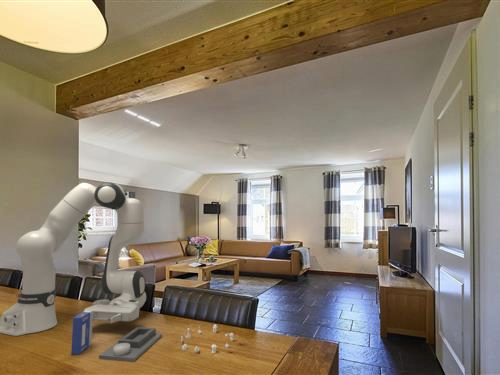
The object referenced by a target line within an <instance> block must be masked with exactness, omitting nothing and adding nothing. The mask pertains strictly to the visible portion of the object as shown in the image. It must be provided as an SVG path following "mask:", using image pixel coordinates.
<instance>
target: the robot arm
mask: <svg viewBox="0 0 500 375" xmlns="http://www.w3.org/2000/svg"><path fill="white" fill-rule="evenodd" d="M96 205H99V206H101V207H102V208H107V209H110V210H114V211H115V212H116V215H117V216H116V217H117V223H116V224H117V226H116V230H115V232H114V234H113V235H112V236H111V237H110V239H109V241H108V246H107V251H106V252H107V253H106V258H105V263H104V269H103V274H102V276H101V279H100V288H101V289H102V291H103V292H104V293H105V294H106V295H117V294H119V295H120V296H117V297H115V298H113V299H112V300H110V303H109V305H101V304H99V305H94V306H93V305H91V306H88V307H86V308H84V309H83V312H84V311H86V310H89V311H93V318H92V320H99V321H100V320H101V321H103V320H104V321H107V322H108V323H109V324H113V323H115V322H132V321H134V320H136V319H139V315H140V309H141V308H142V307H143V306H144V304H145V302H146V301H147V293H146V286H147V284H146V283H147V282H146V278H145V277H144V276H145V275H143V273H142V272H141V271H139V270H119V269H118V266H119V260H120V254H121V251H122V250H123V248H125V247H127V246H128V245H131V244H134V243H136V242H137V241H139V240H140V239H141V238H142V236H143V235H144V229H145V228H144V227H145V223H144V222H145V221H144V220H145V217H144V210H143V209H144V208H143V204H142V202H141V200H139V199H137V198H134V197H127V196H126V192H125V189H124V188H123V187H122V186H121V185H119V184H118V183H115V182H110V181H109V182H106V181H105V182H103V183H101V184H99V185H98V186H95V185H92V184H90V183H89V182H88V183H87V182H81V183H79V184H78V185H76V186H75V187H73V188H72V189H71V190H70V191H69V192H68V193H67V194H66V195H65V196H63V198H62V199H61V200H60V201H59V202H58V203H57V204H56V205H55V206H54V208H53V209H52V210H51V211H50V212H49V214H48V217H47V218H46V219H45V221H44V223H43V225H42V226H41V227H40V228H38V229H37V230H32V231H28V232H27V233H25V234H24V235H22V236H21V237H20V238H19V239H18V240H17V242H16V244H15V245H16V246H15V249H16V252H17V254H18V255H19V257H20V262H21V269H22V288H21V293H19V294H15V296H14V297H15V298H16V299H17V301H16V302H15V303H14V304H13V305H12V306H10V307H8V308H7V309H6V310H5V311H3V313H2V314H1V317H0V334H5V335H9V336H13V337H18V336H23V335H26V334H27V335H28V334H33V333H38V332H43V331H46V330H49V329H52V328H53V327H55V326H57V325H58V320H57V316H56V306H55V305H56V304H55V301H56V298H57V297H56V296H57V295H56V294H57V289H56V272H57V271H56V268H55V265H54V259H53V258H54V257H53V254H54V253H56V252H57V251H59V249H61V247H62V245H63V244H64V243H65V241H66V240H67V239H68V238H69V236H70V235H71V233H72V231H73V230H74V228H75V227H76V226H77V225H78V224H79V223H80V222H81V221H82V219H83V218H84V217H85V216H86V215H87V214H88V212H89V211H90V210H91V209H92V208H93V207H95V206H96Z"/></svg>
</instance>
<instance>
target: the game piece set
mask: <svg viewBox="0 0 500 375" xmlns="http://www.w3.org/2000/svg"><path fill="white" fill-rule="evenodd" d="M217 330H218V325H217V324H214V325H213V326H212V331H213V333H214V334H216V333H217ZM190 331H191V329H190V328H189V327H188V328H187V333H185V334H184V335H181V336H180V339H181V340H180V341H181V344H182V343H183V342H184V336H185V338H187V339H188V338H191V337H192V334H190ZM197 333H198V334H202V331H201V329H200V326H198V330H197ZM234 335H235V334H234V333H233V332H228V333H225V334H224V336H225V337H228V336H229V337H230V338H229V339H230V341H231V342H233V341H234V338H235V336H234ZM181 348H182V349H181V350H182V351H187V350H188V345H187V343H183V345H182V346H181ZM225 348H226V349H229V348H230V344H228V343H226V344H225ZM211 349H212V350H211V354H216V353H217V351H216V349H217V345H216V344H213V343H212V345H211ZM193 352H195V354H198V352H200V348H199V347H198V346H197V345H196V346H195V348H194V350H193Z"/></svg>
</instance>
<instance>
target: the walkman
mask: <svg viewBox="0 0 500 375" xmlns="http://www.w3.org/2000/svg"><path fill="white" fill-rule="evenodd" d="M92 318H93V311H89V310H86V311H84V310H83V311H82V312H81V313H79V314H77V315H76V316H74V317H73V318H72V330H71V331H72V334H71V351H70V354H71V355H81V354H82V353H83V352H85V351H86V350H88V348H90V346H91V345H92V337H93V335H92V334H93V319H92Z"/></svg>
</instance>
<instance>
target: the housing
mask: <svg viewBox="0 0 500 375" xmlns="http://www.w3.org/2000/svg"><path fill="white" fill-rule="evenodd" d="M156 330H157V328H156V327H144V326H143V327H142V326H137V327H135V328H134V329H132V330H131V331H130V332H128V333H126V334H125V335H124V336H122V337H120V338H119V339H118V340H117V342H116V343H114V344H113V345H111V346H110V347H109V348H107V349H106V350H104V351H103V352H101V353H100V354H99V355H98V359H99V360H100V359H102V360H111V361H123V362H135V361H136V360H138V358H139V357H141V356H142V355H143V354H144V353H145V352H146V351H147V350H149V349H150V348H151V347H152V346H153V345H155V343H156V342H157V341H159V338H160V337H161V338H162V337H163V333H162V332H161V333H160V332H157V331H156ZM161 338H160V339H161Z"/></svg>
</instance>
